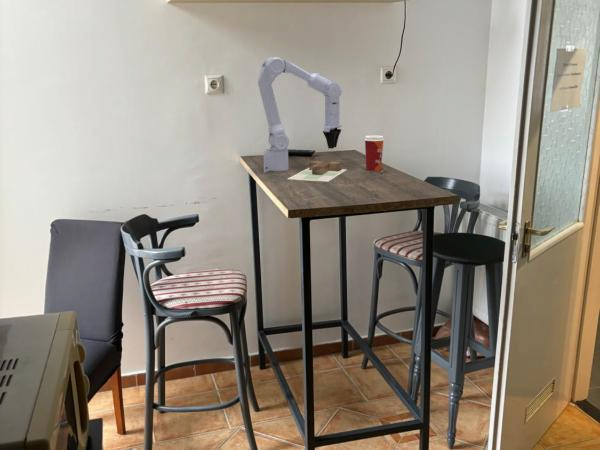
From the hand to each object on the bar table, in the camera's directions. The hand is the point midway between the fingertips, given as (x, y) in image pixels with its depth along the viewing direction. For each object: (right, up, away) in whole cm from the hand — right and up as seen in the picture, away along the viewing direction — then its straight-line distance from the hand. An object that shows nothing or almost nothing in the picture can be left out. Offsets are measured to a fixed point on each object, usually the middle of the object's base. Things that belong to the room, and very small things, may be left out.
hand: (332, 147), depth 240 cm
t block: (-4, -11, -10) cm, 15 cm away
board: (-6, -13, -14) cm, 20 cm away
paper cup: (+16, -11, -7) cm, 20 cm away
